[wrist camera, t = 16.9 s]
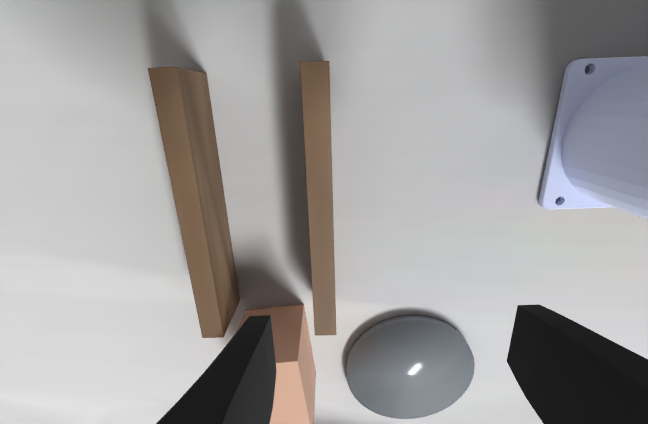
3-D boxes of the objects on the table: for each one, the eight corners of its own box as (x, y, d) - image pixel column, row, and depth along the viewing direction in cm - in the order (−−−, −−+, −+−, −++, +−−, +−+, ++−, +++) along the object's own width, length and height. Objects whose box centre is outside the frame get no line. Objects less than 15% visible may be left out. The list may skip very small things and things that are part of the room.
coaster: (478, 313, 21) (482, 319, 21) (463, 410, 24) (466, 417, 24) (345, 316, 22) (346, 322, 21) (346, 412, 25) (347, 419, 24)
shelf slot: (328, 68, 16) (329, 60, 13) (334, 298, 21) (336, 334, 18) (183, 74, 16) (147, 67, 13) (221, 300, 21) (202, 337, 18)
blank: (303, 303, 21) (297, 361, 17) (315, 371, 23) (313, 439, 19) (246, 309, 22) (223, 368, 17) (262, 376, 24) (246, 445, 19)
